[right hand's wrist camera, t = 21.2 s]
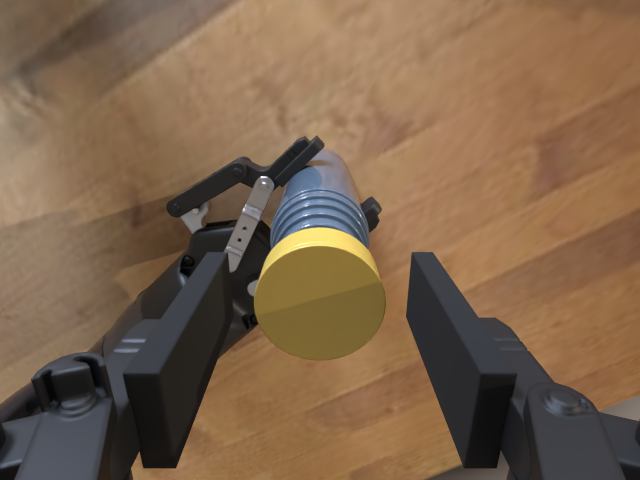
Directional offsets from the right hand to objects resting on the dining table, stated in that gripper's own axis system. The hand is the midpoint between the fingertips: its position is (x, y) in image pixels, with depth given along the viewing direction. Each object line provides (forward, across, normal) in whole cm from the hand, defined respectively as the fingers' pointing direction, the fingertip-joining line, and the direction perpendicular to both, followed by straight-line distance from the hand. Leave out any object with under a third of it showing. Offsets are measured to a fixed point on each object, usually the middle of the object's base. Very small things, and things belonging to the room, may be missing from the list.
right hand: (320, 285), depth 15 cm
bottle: (+19, 0, 0) cm, 19 cm away
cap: (-1, 0, 0) cm, 1 cm away
